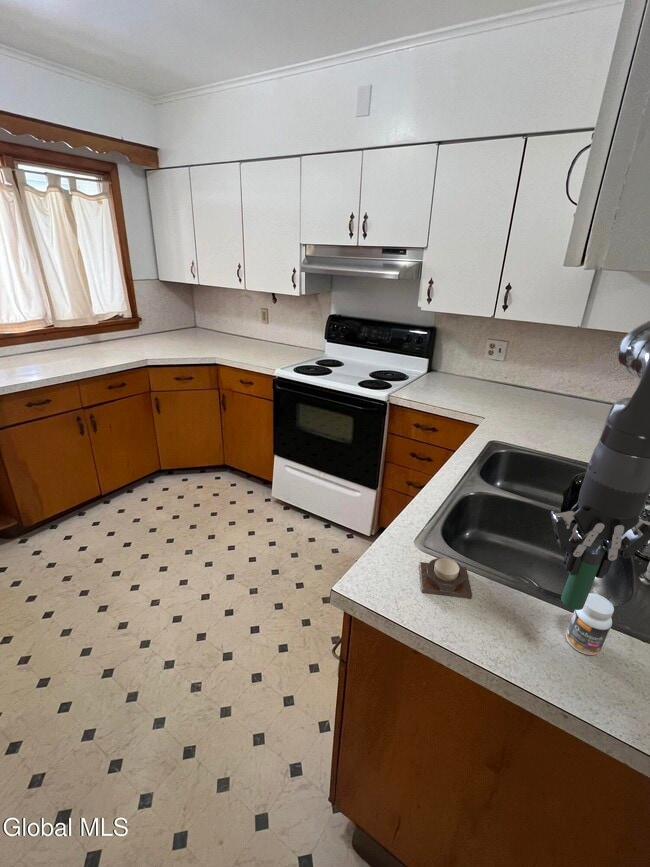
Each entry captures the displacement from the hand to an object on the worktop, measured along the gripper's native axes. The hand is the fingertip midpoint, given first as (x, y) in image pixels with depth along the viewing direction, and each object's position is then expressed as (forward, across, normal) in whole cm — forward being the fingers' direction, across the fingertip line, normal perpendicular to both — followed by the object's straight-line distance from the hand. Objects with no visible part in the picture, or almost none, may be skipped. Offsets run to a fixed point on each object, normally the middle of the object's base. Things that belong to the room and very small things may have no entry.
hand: (583, 572), depth 65 cm
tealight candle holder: (+21, -16, +17) cm, 32 cm away
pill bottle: (+21, +8, +6) cm, 23 cm away
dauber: (+6, 0, 0) cm, 6 cm away
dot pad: (+19, -16, +17) cm, 30 cm away
